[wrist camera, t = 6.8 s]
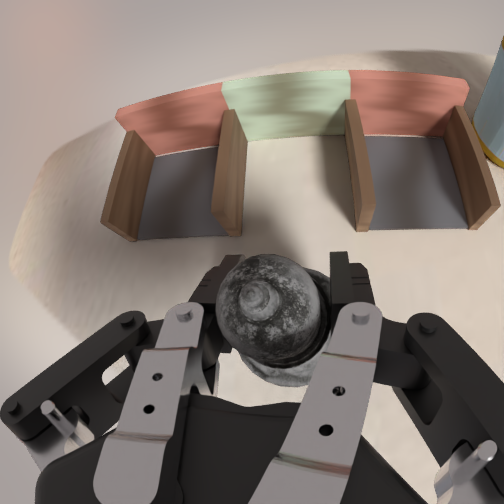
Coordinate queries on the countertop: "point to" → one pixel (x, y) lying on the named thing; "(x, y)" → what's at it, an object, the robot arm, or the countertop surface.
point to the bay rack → (296, 125)
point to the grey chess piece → (276, 317)
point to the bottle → (492, 113)
